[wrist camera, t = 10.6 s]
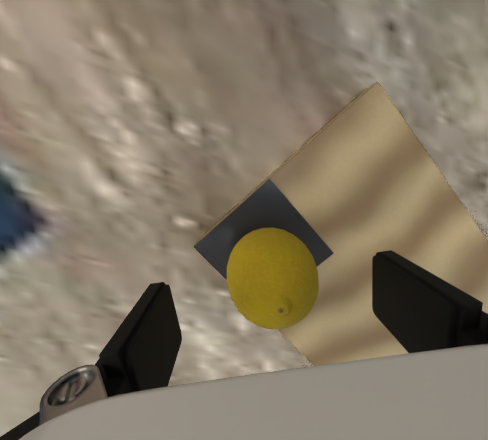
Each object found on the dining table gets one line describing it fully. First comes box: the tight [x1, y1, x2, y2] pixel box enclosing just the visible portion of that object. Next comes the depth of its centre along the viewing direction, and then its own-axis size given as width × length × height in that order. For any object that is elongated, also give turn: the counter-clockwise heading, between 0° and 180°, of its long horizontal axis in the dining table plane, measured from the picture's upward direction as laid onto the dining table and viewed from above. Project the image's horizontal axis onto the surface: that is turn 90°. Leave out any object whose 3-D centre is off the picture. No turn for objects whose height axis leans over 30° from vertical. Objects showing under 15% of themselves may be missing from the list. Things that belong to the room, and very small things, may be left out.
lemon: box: [227, 227, 319, 329], centre depth 14 cm, size 6×6×8 cm
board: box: [194, 82, 488, 366], centre depth 20 cm, size 22×18×2 cm
